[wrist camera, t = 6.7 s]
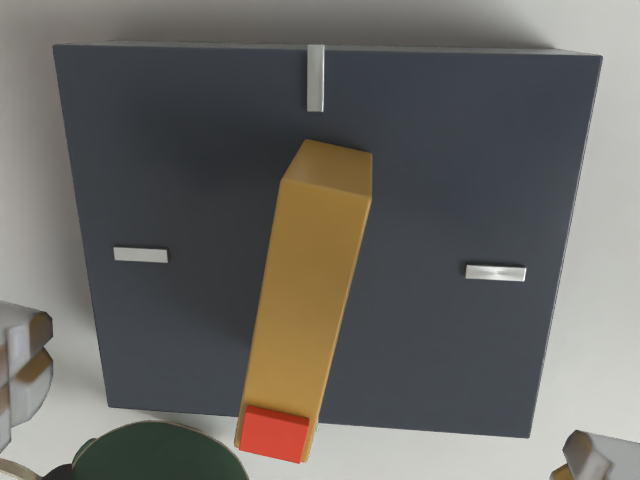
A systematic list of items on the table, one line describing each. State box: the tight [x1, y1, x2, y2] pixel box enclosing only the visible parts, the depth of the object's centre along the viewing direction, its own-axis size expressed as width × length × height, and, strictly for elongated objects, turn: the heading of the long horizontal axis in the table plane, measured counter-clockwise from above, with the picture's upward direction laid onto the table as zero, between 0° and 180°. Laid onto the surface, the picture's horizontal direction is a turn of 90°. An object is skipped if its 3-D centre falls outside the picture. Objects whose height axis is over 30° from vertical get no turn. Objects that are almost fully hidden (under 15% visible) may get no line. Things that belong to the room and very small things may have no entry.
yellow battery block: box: [234, 139, 372, 464], centre depth 12 cm, size 6×2×4 cm, turn 169°
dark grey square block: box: [53, 40, 603, 438], centre depth 15 cm, size 12×10×3 cm
